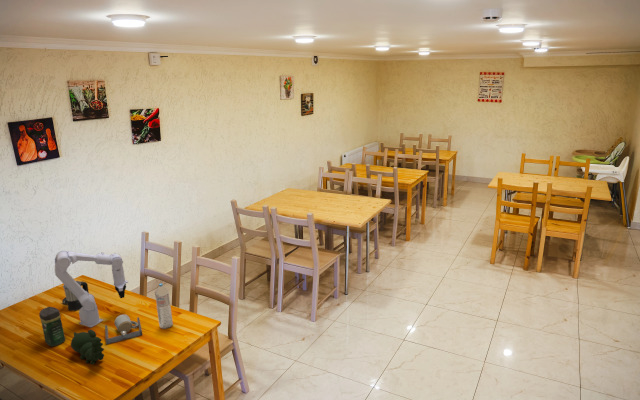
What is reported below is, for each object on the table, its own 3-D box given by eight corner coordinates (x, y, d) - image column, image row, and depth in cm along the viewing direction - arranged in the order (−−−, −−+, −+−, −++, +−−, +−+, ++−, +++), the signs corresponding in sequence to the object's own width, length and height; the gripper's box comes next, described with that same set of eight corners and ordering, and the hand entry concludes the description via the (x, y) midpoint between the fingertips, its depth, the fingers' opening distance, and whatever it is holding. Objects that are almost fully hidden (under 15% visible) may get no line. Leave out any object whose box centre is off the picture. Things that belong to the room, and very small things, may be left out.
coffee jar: (68, 341, 223) (61, 309, 218) (51, 348, 217) (44, 316, 212) (59, 334, 229) (52, 303, 224) (43, 342, 223) (35, 310, 218)
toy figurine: (111, 364, 208) (85, 341, 222) (107, 330, 201) (80, 310, 215) (91, 374, 201) (66, 350, 214) (86, 340, 194) (60, 318, 208)
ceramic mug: (119, 336, 227) (117, 323, 225) (115, 329, 233) (113, 316, 231) (140, 329, 233) (138, 316, 231) (135, 322, 239) (134, 310, 237)
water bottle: (175, 323, 237) (170, 282, 230) (166, 330, 231) (160, 288, 224) (166, 321, 240) (160, 280, 233) (156, 327, 234) (150, 285, 227)
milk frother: (79, 311, 251) (75, 288, 247) (53, 311, 252) (48, 288, 248) (92, 299, 265) (88, 276, 261) (67, 299, 266) (62, 276, 261)
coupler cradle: (105, 329, 233) (104, 322, 232) (139, 321, 240) (138, 314, 239) (106, 345, 219) (105, 337, 218) (142, 335, 227) (141, 328, 226)
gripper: (127, 279, 237) (130, 301, 241) (125, 268, 249) (128, 290, 253) (113, 281, 234) (117, 304, 238) (112, 271, 246) (115, 293, 250)
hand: (122, 297), depth 245 cm, fingers closed
